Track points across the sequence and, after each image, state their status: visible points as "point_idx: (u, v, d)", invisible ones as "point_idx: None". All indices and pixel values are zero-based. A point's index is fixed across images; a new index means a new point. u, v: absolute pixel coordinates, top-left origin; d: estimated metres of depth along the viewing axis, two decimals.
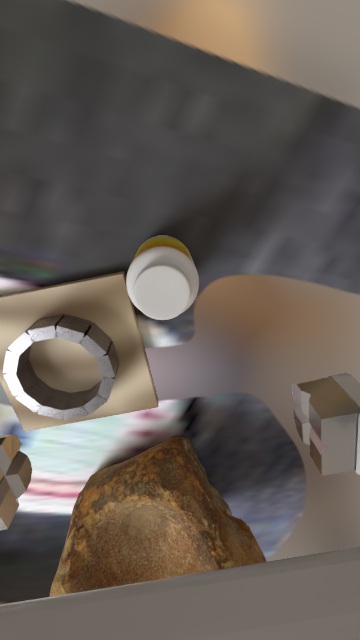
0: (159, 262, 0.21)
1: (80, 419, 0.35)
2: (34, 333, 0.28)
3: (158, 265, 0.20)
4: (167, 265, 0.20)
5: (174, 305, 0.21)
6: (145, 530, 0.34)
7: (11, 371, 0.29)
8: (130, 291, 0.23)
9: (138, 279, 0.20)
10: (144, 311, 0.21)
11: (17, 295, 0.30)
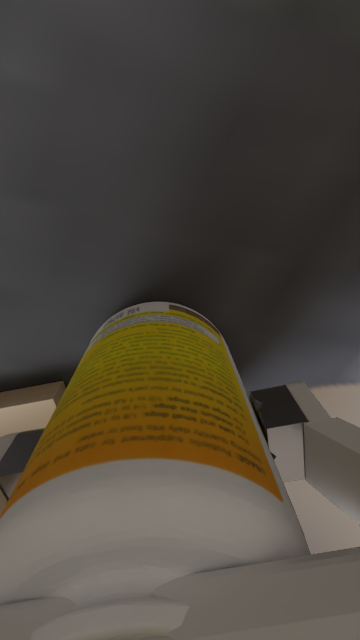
0: None
1: None
2: None
3: None
4: None
5: None
6: None
7: None
8: None
9: None
10: None
11: None
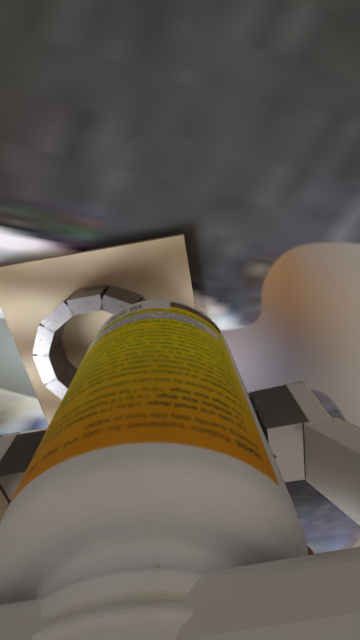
0: None
1: None
2: (75, 304, 0.22)
3: None
4: None
5: None
6: None
7: (43, 352, 0.24)
8: None
9: None
10: None
11: (52, 259, 0.24)
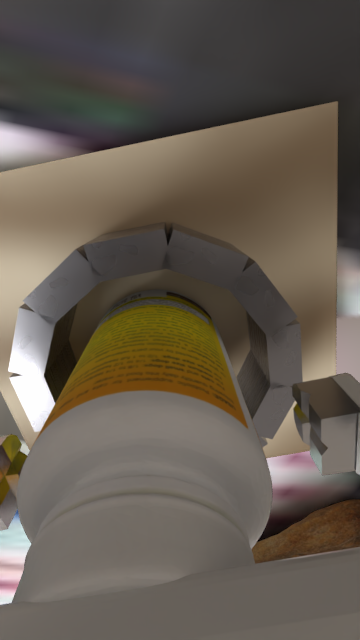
0: (123, 512, 0.04)
1: None
2: (105, 254, 0.09)
3: (112, 568, 0.04)
4: (160, 565, 0.04)
5: None
6: None
7: (32, 368, 0.11)
8: (31, 541, 0.06)
9: None
10: None
11: (48, 165, 0.11)
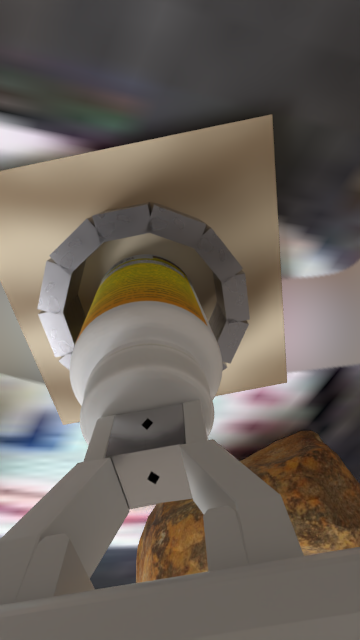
0: (140, 350, 0.09)
1: None
2: (107, 222, 0.14)
3: (138, 365, 0.08)
4: (161, 364, 0.08)
5: None
6: None
7: (54, 307, 0.15)
8: (79, 395, 0.11)
9: (89, 398, 0.08)
10: None
11: (63, 159, 0.15)
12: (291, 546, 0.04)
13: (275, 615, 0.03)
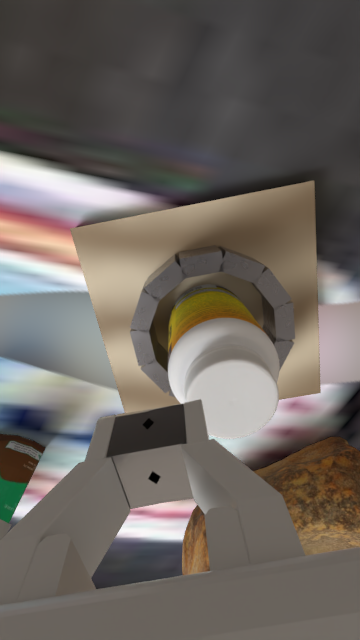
0: (228, 350, 0.13)
1: None
2: (190, 263, 0.18)
3: (230, 358, 0.12)
4: (245, 358, 0.12)
5: (252, 417, 0.13)
6: None
7: (143, 326, 0.19)
8: (175, 385, 0.15)
9: (196, 380, 0.12)
10: None
11: (151, 213, 0.20)
12: (292, 546, 0.04)
13: (275, 615, 0.03)
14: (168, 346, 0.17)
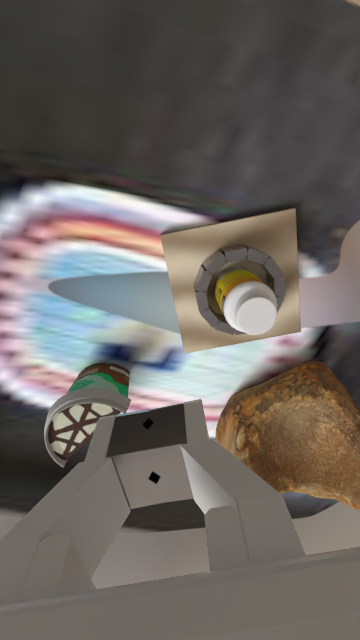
0: (255, 294, 0.29)
1: (233, 342, 0.42)
2: (230, 254, 0.34)
3: (256, 297, 0.29)
4: (262, 297, 0.29)
5: (265, 324, 0.29)
6: (294, 433, 0.40)
7: (203, 289, 0.35)
8: (228, 313, 0.31)
9: (241, 306, 0.29)
10: (243, 329, 0.30)
11: (206, 227, 0.36)
12: (293, 546, 0.04)
13: (275, 615, 0.03)
14: (220, 298, 0.34)
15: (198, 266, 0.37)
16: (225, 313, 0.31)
